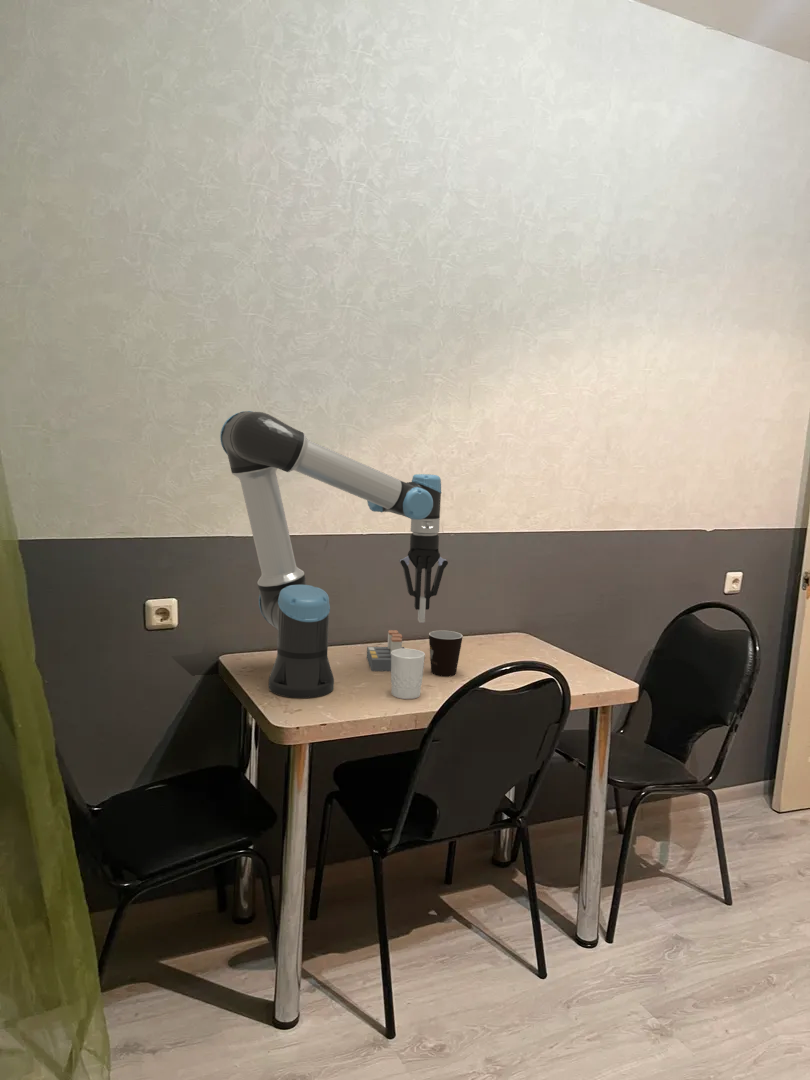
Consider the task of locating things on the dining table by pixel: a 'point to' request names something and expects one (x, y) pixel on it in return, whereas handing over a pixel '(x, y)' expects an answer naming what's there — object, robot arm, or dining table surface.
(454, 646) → the coffee mug
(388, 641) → the slider
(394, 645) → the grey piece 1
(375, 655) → the grey slotted tray
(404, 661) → the white cup
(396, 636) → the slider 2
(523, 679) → the dining table surface
